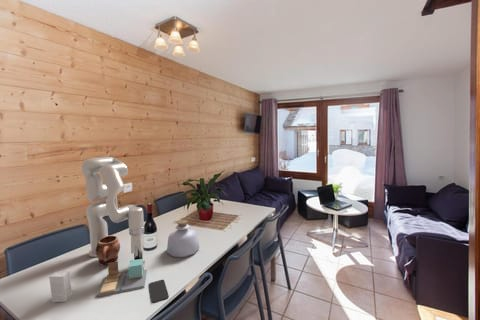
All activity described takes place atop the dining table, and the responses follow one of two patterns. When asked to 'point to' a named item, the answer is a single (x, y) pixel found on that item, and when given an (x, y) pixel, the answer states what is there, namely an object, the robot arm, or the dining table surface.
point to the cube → (135, 268)
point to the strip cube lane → (143, 266)
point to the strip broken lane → (112, 278)
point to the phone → (158, 291)
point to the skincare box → (60, 286)
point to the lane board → (122, 284)
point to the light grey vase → (182, 241)
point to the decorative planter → (107, 249)
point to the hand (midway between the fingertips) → (138, 261)
